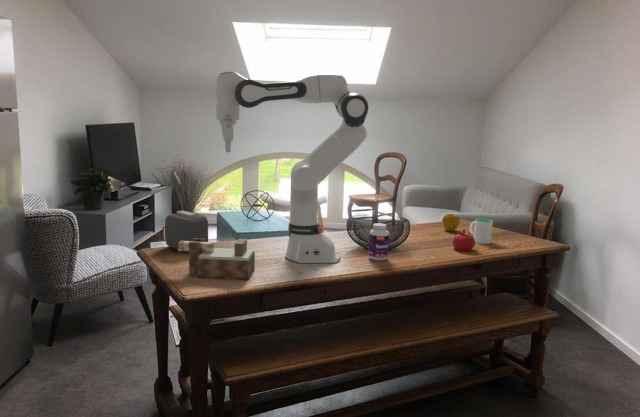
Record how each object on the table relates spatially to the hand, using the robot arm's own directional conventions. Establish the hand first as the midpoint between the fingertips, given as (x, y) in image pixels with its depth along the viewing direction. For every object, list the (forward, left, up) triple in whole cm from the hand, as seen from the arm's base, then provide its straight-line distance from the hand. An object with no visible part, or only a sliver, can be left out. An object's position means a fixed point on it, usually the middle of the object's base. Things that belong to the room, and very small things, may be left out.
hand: (227, 151), depth 209 cm
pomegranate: (-100, -30, -43) cm, 113 cm away
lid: (-5, +22, -36) cm, 42 cm away
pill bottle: (-61, -8, -43) cm, 75 cm away
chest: (-3, +22, -43) cm, 48 cm away
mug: (-111, -48, -43) cm, 128 cm away
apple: (-101, -68, -43) cm, 129 cm away
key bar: (+6, +22, -34) cm, 41 cm away
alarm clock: (+20, -9, -43) cm, 48 cm away
